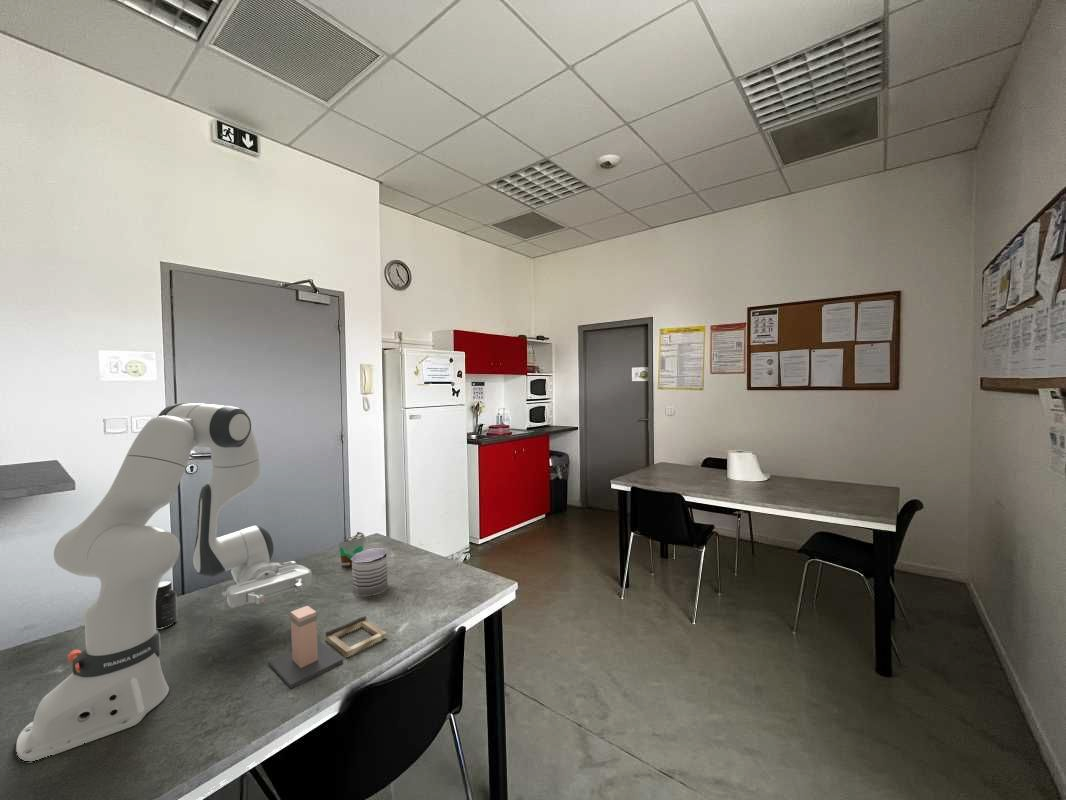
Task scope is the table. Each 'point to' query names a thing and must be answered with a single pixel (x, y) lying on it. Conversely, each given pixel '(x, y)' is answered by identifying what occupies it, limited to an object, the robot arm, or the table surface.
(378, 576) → the can
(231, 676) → the table surface
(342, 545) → the food container
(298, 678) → the mat
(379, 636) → the frame
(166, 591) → the supplement bottle
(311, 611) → the block
